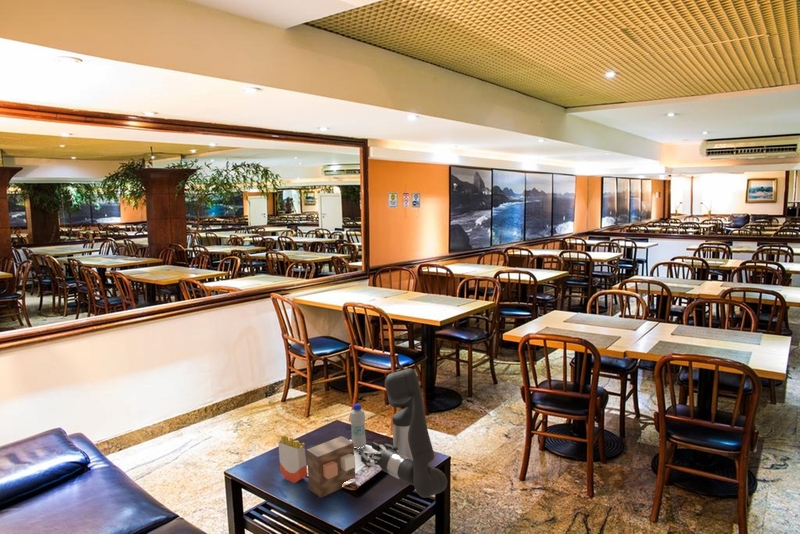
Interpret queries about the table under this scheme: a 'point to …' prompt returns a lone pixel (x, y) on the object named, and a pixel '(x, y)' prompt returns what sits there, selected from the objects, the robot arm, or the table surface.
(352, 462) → the ivory key
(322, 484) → the key panel
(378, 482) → the table surface
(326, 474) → the terracotta key
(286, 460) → the french fries container
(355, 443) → the bottle
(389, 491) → the table surface
